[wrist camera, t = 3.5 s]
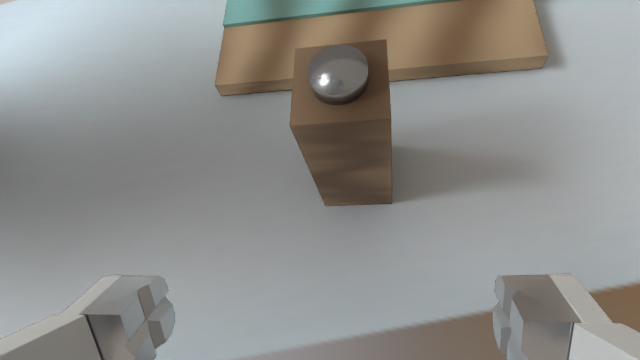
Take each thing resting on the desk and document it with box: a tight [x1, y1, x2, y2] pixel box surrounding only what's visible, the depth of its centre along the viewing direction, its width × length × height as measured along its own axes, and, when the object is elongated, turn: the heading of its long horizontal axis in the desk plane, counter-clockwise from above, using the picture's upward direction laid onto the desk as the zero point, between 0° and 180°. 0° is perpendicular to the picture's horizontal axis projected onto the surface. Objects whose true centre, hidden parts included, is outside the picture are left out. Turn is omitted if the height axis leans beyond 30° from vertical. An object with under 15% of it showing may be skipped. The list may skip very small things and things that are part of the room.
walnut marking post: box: [290, 39, 392, 206], centre depth 20 cm, size 4×4×10 cm
